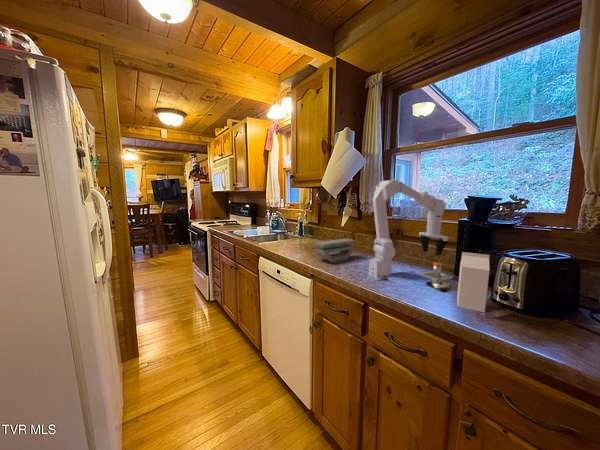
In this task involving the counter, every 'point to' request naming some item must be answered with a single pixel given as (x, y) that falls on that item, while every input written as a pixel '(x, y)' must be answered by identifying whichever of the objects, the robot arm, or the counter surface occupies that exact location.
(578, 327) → the counter surface
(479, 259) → the milk carton
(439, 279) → the tray
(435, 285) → the pulley deck
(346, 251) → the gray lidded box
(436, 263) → the lock pin
